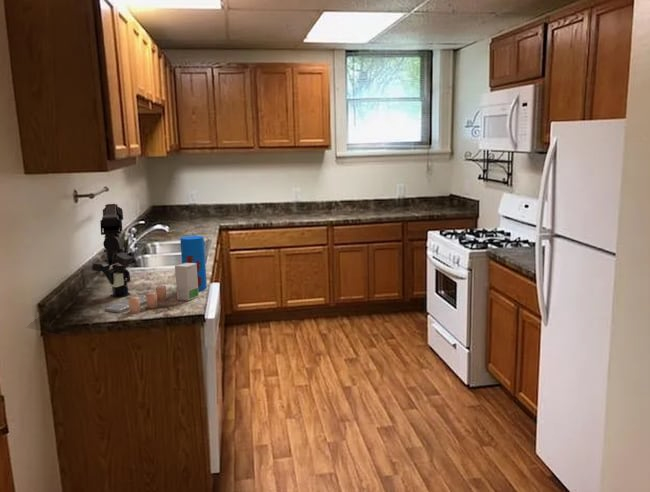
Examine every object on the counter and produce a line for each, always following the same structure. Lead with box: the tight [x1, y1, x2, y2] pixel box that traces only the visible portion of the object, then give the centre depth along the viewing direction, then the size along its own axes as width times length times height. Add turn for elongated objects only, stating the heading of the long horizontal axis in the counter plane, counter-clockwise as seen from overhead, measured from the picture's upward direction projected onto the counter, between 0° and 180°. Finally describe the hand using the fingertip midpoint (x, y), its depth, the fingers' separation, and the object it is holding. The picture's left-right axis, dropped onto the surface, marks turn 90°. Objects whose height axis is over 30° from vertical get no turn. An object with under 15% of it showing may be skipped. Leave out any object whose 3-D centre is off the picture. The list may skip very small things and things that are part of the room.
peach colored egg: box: [127, 296, 142, 314], centre depth 225 cm, size 4×4×6 cm
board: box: [104, 296, 147, 314], centre depth 234 cm, size 9×19×1 cm, turn 154°
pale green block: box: [108, 273, 124, 288], centre depth 227 cm, size 4×4×5 cm
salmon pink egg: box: [145, 291, 159, 310], centre depth 231 cm, size 4×4×6 cm
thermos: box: [179, 235, 208, 292], centre depth 258 cm, size 11×11×25 cm
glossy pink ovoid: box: [155, 285, 168, 302], centre depth 241 cm, size 4×4×6 cm
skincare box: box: [174, 263, 200, 301], centre depth 243 cm, size 8×7×16 cm
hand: (116, 283), depth 228 cm, fingers closed on pale green block, 4 cm apart
